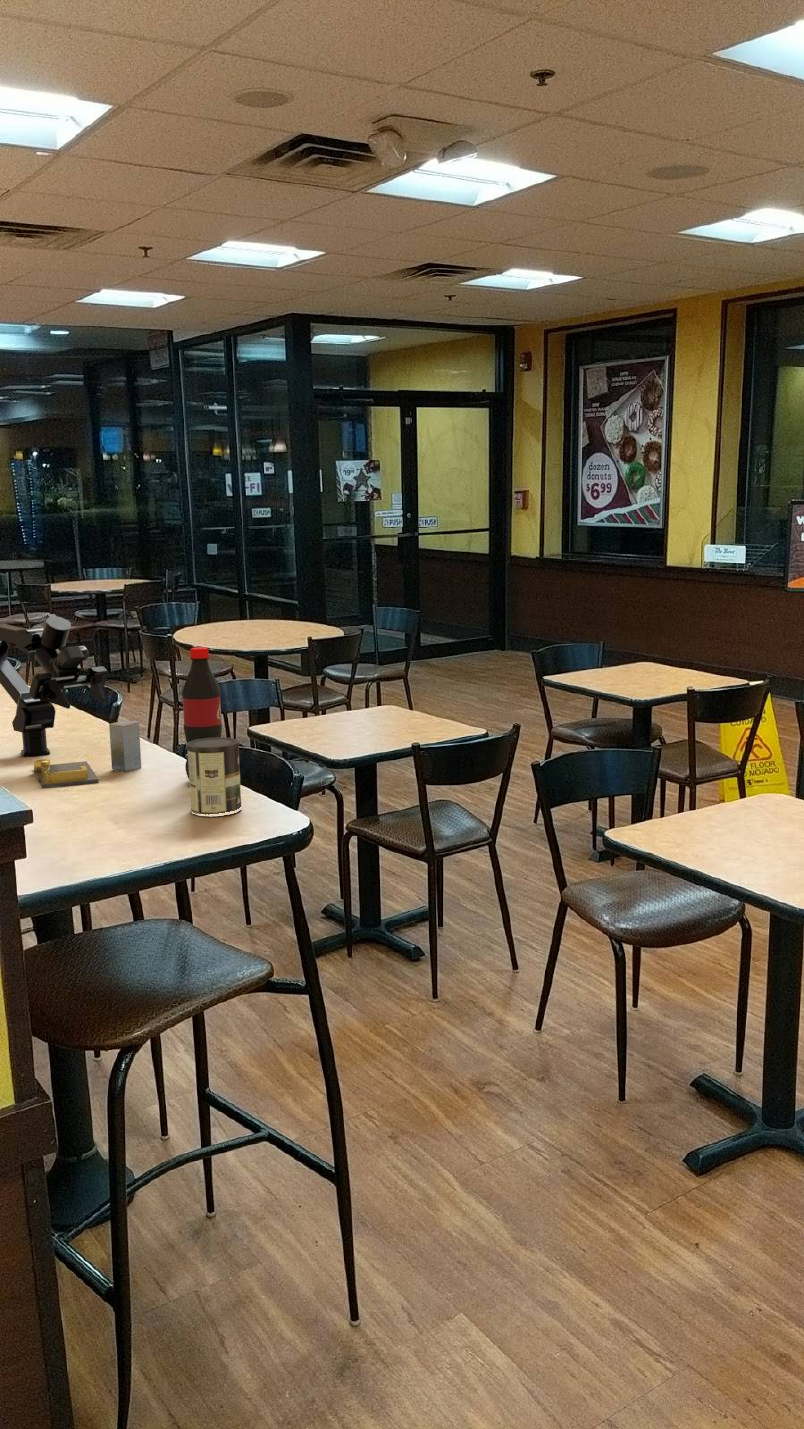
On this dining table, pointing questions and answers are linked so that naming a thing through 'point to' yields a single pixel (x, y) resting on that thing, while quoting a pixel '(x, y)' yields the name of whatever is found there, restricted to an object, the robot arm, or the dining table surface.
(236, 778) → the coffee can
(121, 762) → the link block
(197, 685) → the cola bottle
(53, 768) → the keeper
